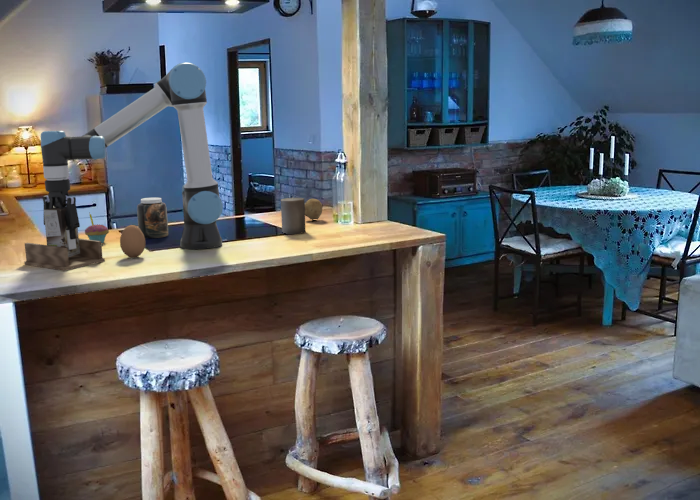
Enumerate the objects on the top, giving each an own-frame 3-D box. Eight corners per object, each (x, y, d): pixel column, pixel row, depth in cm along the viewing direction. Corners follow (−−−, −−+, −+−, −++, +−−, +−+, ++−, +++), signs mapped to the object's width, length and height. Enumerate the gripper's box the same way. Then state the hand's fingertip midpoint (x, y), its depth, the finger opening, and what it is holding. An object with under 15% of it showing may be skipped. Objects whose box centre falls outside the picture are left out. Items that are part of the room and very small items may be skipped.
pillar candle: (310, 231, 289) (309, 195, 286) (296, 235, 281) (294, 197, 278) (291, 230, 294) (290, 194, 291) (276, 233, 286) (275, 196, 283)
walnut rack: (104, 261, 237) (103, 240, 235) (63, 270, 223) (61, 249, 222) (65, 255, 247) (63, 235, 245) (24, 264, 233) (22, 243, 232)
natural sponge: (300, 222, 313) (300, 199, 311) (305, 219, 322) (304, 197, 320) (320, 222, 312) (320, 199, 310) (324, 219, 320) (324, 197, 318)
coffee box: (65, 258, 229) (60, 209, 226) (47, 258, 231) (42, 209, 228) (81, 253, 238) (76, 205, 235) (63, 252, 239) (59, 205, 236)
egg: (122, 260, 237) (120, 227, 235) (119, 256, 244) (117, 224, 242) (148, 258, 240) (145, 225, 238) (144, 254, 247) (142, 222, 245)
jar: (132, 237, 281) (129, 200, 278) (150, 232, 291) (148, 196, 288) (156, 239, 276) (154, 201, 273) (174, 234, 287) (172, 197, 284)
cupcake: (87, 245, 265) (84, 214, 262) (84, 242, 272) (81, 211, 270) (111, 243, 268) (108, 212, 266) (107, 240, 276) (105, 209, 274)
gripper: (87, 179, 227) (93, 248, 232) (46, 176, 238) (53, 243, 242) (68, 181, 221) (74, 252, 226) (26, 178, 232) (34, 247, 236)
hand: (63, 247), depth 234 cm, fingers closed on coffee box, 8 cm apart
